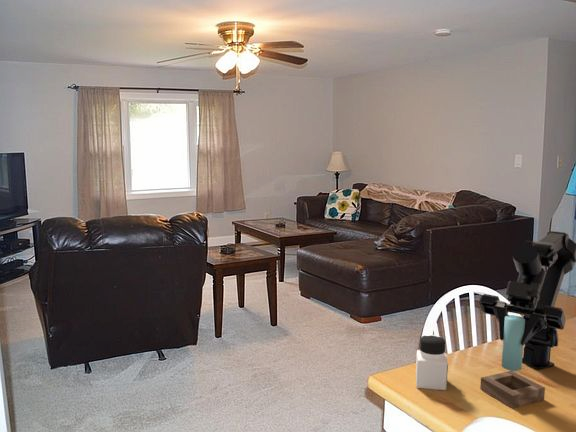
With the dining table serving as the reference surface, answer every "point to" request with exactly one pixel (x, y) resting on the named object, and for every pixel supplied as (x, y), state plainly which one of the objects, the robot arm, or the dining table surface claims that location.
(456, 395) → the dining table surface
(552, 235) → the robot arm
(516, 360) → the peg
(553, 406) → the dining table surface
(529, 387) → the hole block
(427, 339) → the medicine bottle
